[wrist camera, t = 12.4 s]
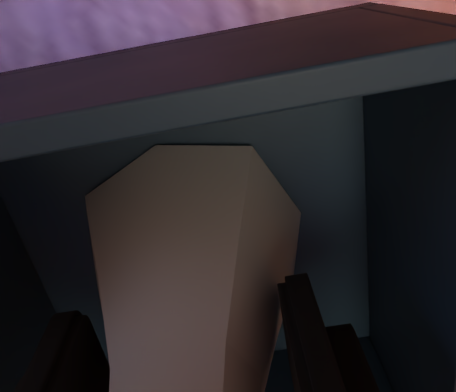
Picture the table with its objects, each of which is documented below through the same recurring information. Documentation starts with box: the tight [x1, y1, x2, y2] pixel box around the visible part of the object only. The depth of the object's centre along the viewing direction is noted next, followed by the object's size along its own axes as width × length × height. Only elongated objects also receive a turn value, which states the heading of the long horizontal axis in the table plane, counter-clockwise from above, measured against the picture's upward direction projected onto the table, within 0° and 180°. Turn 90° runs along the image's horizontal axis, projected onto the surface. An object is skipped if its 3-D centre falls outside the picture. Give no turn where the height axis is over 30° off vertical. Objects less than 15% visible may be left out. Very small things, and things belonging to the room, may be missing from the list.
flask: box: [85, 145, 301, 392], centre depth 10 cm, size 7×7×10 cm
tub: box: [0, 3, 456, 392], centre depth 12 cm, size 13×13×7 cm
